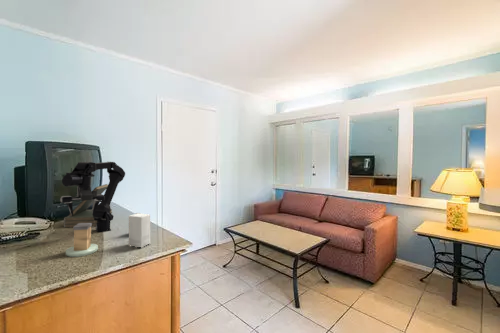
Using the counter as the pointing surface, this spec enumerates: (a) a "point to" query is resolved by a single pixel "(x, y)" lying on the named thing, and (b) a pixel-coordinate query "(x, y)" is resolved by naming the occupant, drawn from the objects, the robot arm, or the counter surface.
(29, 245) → the counter surface
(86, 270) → the counter surface
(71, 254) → the sage green coaster
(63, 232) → the counter surface
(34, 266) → the counter surface
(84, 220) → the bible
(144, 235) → the skincare box
